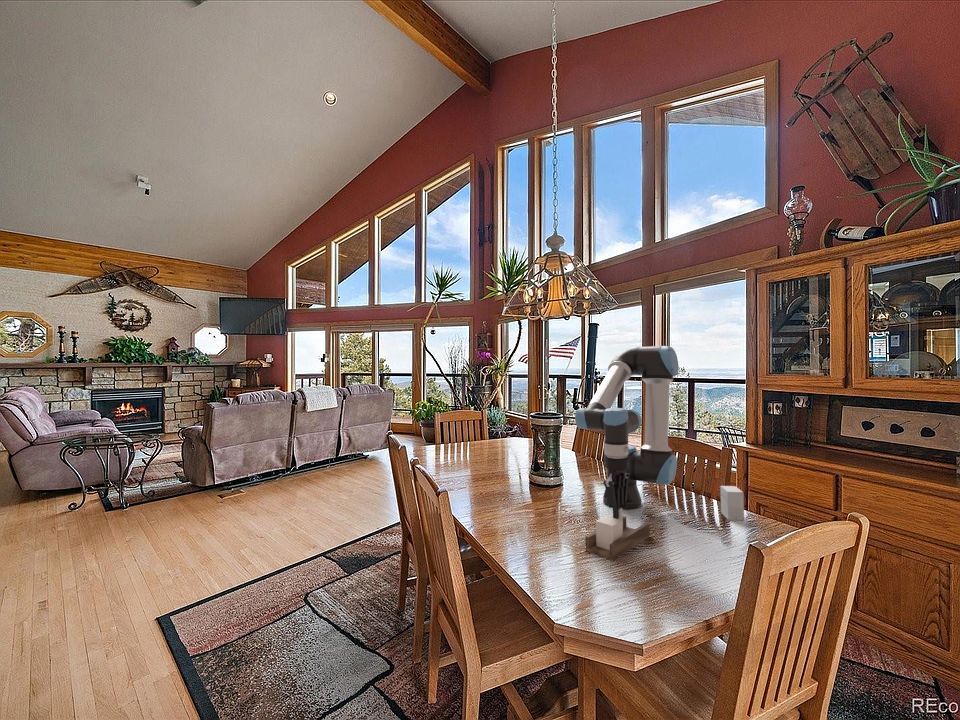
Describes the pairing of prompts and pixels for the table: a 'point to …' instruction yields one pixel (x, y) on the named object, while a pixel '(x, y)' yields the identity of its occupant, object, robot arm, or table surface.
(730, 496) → the small box
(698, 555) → the table surface
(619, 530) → the block
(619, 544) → the chute
